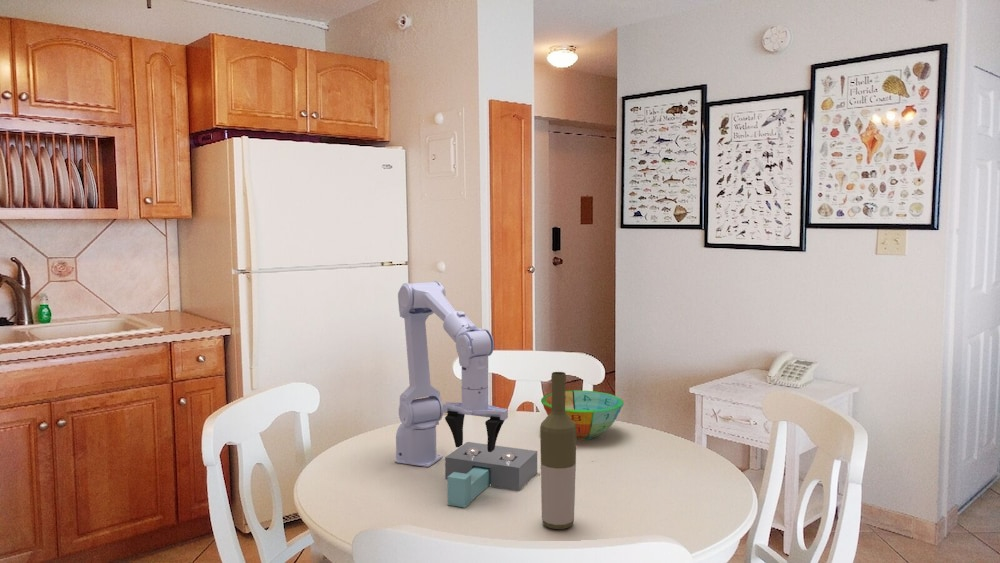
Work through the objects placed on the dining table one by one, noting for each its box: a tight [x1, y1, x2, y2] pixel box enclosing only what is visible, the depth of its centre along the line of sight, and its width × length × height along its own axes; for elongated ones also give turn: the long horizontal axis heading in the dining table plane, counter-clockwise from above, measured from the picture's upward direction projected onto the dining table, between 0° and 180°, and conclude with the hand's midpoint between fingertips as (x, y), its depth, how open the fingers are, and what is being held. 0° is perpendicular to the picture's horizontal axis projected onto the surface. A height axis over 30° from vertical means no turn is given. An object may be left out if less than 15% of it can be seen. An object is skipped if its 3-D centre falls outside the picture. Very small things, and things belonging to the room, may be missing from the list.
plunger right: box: [502, 452, 515, 461], centre depth 162 cm, size 3×3×3 cm
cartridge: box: [446, 466, 491, 509], centre depth 154 cm, size 4×15×6 cm, turn 158°
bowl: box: [540, 390, 625, 441], centre depth 194 cm, size 22×22×10 cm
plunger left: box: [466, 447, 478, 456], centre depth 165 cm, size 3×3×3 cm
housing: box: [444, 441, 538, 492], centre depth 165 cm, size 18×12×5 cm, turn 68°
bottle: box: [539, 371, 577, 530], centre depth 138 cm, size 7×7×30 cm
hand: (475, 448), depth 154 cm, fingers open, 7 cm apart
